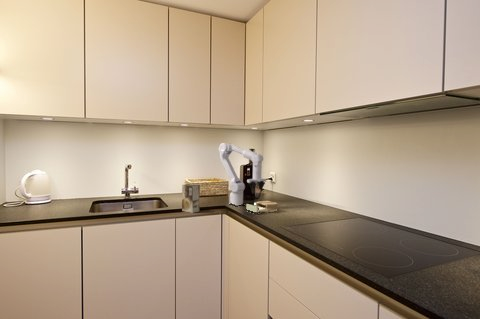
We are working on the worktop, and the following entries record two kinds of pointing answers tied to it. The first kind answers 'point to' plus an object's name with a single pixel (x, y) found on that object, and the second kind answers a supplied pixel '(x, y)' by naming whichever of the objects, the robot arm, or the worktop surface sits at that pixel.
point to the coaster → (257, 190)
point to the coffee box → (190, 198)
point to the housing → (268, 205)
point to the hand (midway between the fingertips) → (256, 193)
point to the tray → (254, 208)
